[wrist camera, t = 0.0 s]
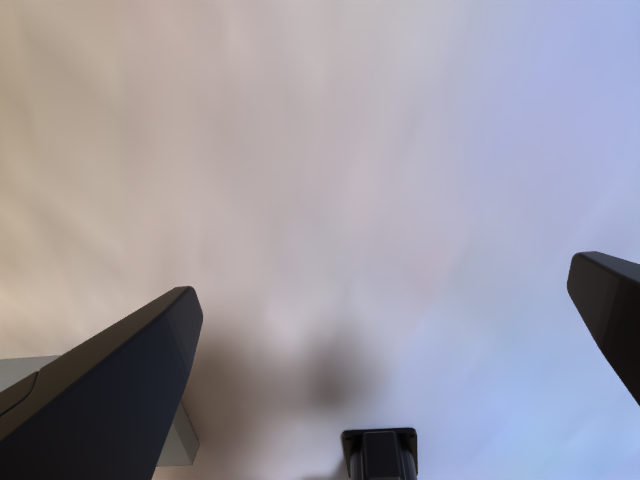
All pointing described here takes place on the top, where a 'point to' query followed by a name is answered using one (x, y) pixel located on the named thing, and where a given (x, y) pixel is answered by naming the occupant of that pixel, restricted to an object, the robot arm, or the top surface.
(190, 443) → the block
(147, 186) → the top surface
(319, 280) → the top surface
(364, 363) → the top surface
